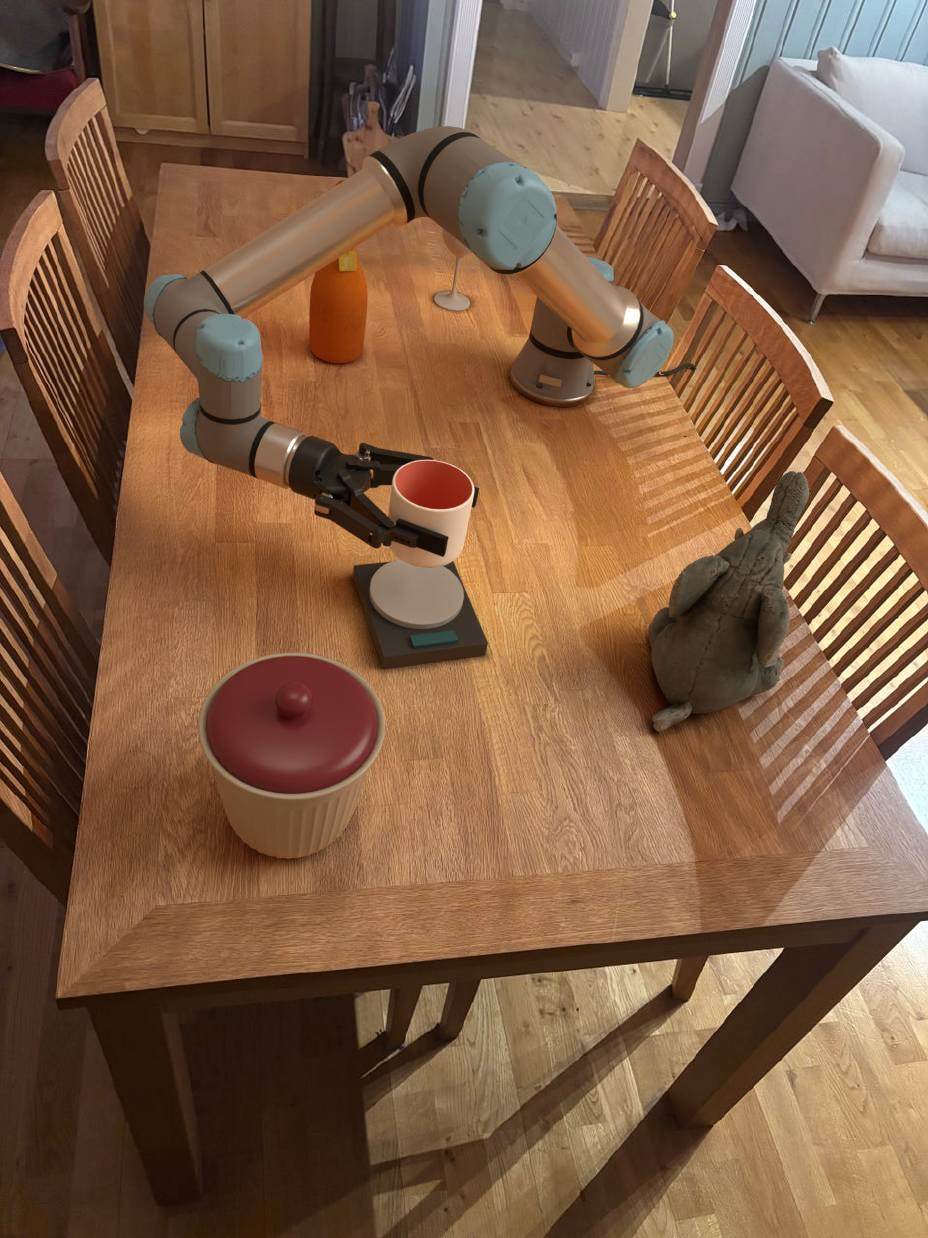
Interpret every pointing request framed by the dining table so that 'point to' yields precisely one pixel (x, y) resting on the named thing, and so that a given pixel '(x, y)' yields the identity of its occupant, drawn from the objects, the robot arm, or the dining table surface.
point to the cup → (431, 507)
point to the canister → (291, 749)
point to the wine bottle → (338, 310)
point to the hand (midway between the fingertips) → (461, 521)
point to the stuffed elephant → (728, 616)
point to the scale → (418, 613)
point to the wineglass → (452, 298)
